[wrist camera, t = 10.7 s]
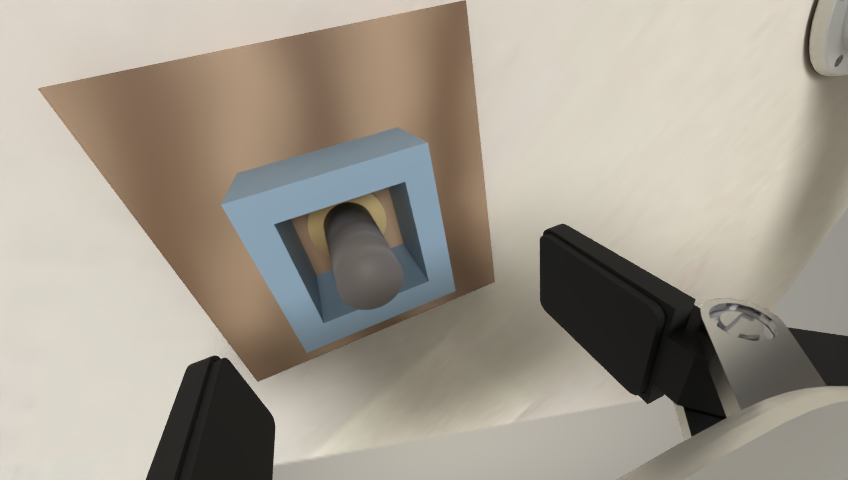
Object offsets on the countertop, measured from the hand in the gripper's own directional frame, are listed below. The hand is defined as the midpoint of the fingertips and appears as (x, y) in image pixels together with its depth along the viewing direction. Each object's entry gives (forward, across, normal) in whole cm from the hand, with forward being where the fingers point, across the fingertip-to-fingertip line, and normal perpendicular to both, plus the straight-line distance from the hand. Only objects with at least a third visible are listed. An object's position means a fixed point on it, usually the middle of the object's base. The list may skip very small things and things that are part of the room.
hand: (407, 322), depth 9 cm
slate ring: (+9, +1, 0) cm, 9 cm away
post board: (+10, +1, 0) cm, 10 cm away
